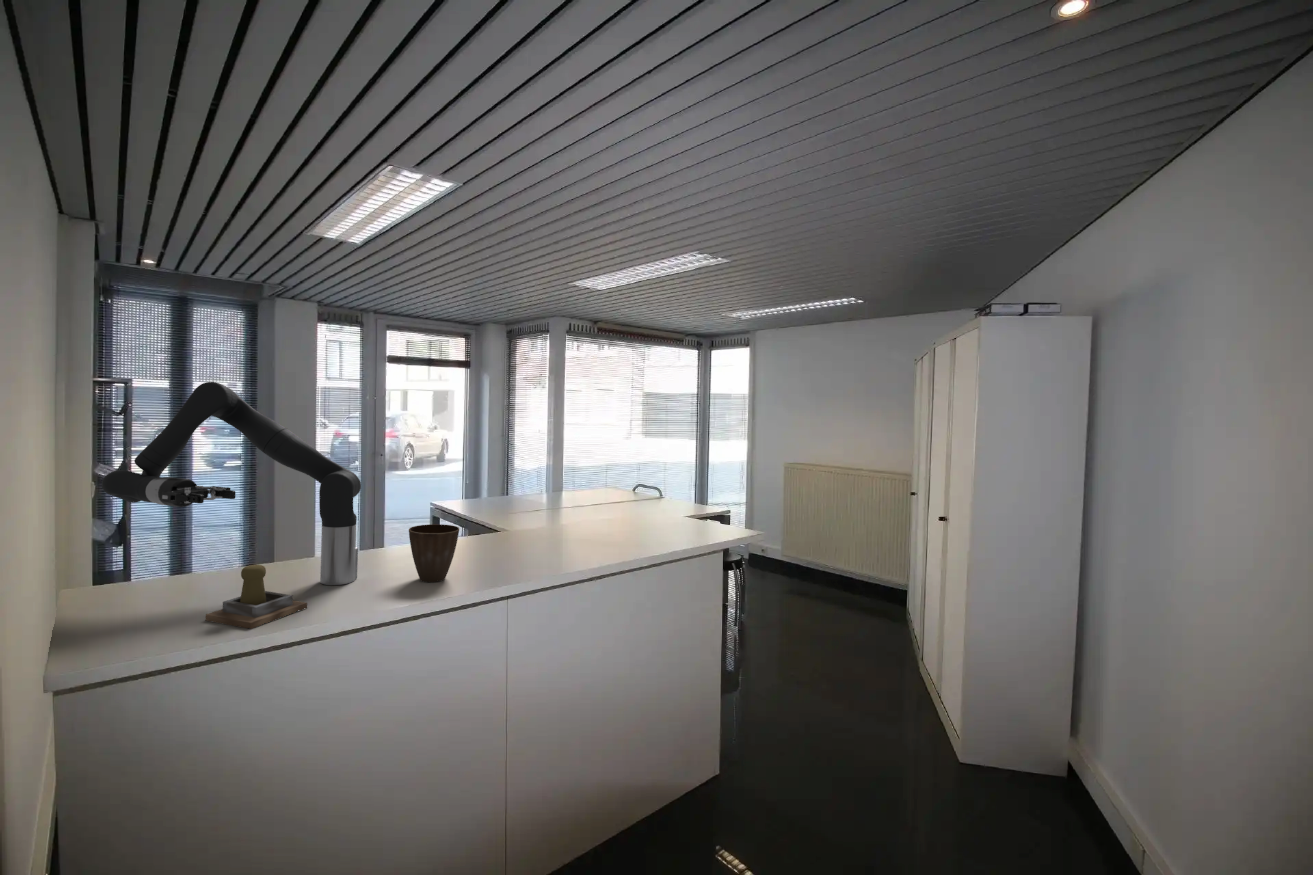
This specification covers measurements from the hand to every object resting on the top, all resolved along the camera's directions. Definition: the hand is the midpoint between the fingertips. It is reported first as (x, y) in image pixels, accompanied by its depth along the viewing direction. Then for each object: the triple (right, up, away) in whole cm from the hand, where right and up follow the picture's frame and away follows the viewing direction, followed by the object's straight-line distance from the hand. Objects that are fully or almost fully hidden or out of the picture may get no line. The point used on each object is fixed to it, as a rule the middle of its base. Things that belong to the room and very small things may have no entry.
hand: (218, 497), depth 156 cm
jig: (+13, -29, -5) cm, 32 cm away
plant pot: (+43, -29, +33) cm, 62 cm away
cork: (+13, -28, -6) cm, 31 cm away
